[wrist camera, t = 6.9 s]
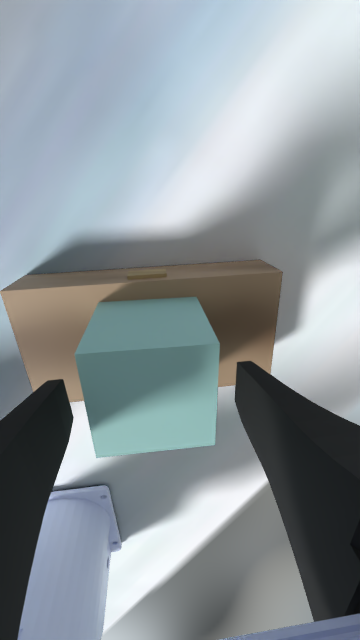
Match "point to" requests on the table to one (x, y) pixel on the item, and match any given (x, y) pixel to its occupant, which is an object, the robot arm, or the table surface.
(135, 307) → the teal cube
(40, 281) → the pencil box
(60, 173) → the table surface
